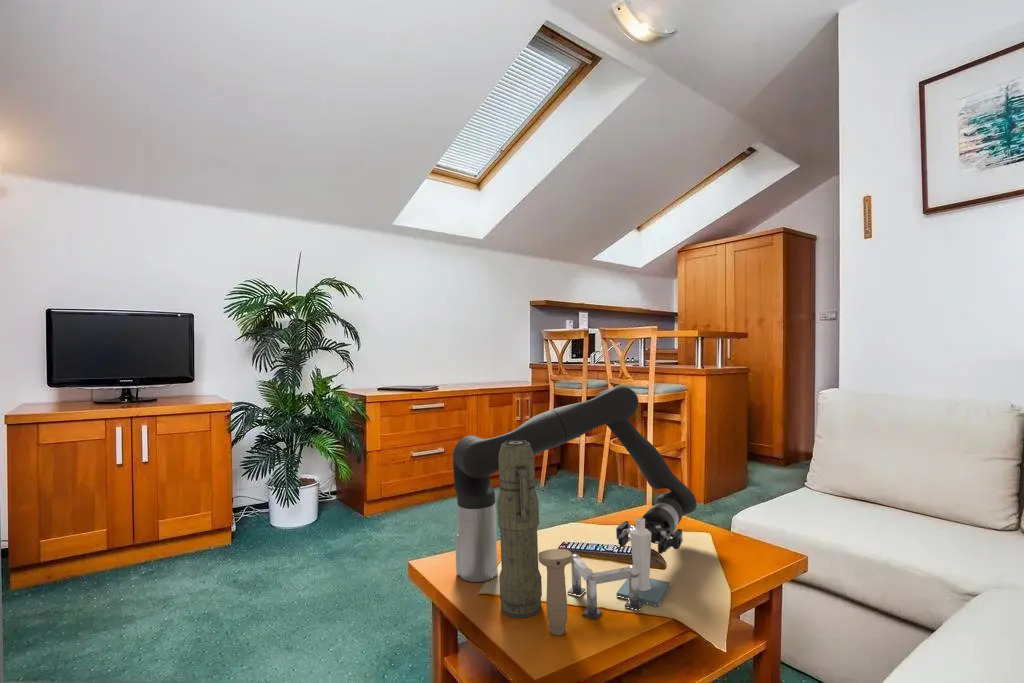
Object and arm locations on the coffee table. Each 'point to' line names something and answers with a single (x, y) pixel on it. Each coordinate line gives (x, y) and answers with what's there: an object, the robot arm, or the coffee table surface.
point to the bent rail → (602, 577)
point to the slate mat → (648, 591)
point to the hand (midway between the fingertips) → (640, 545)
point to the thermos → (518, 531)
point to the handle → (556, 588)
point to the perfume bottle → (641, 552)
